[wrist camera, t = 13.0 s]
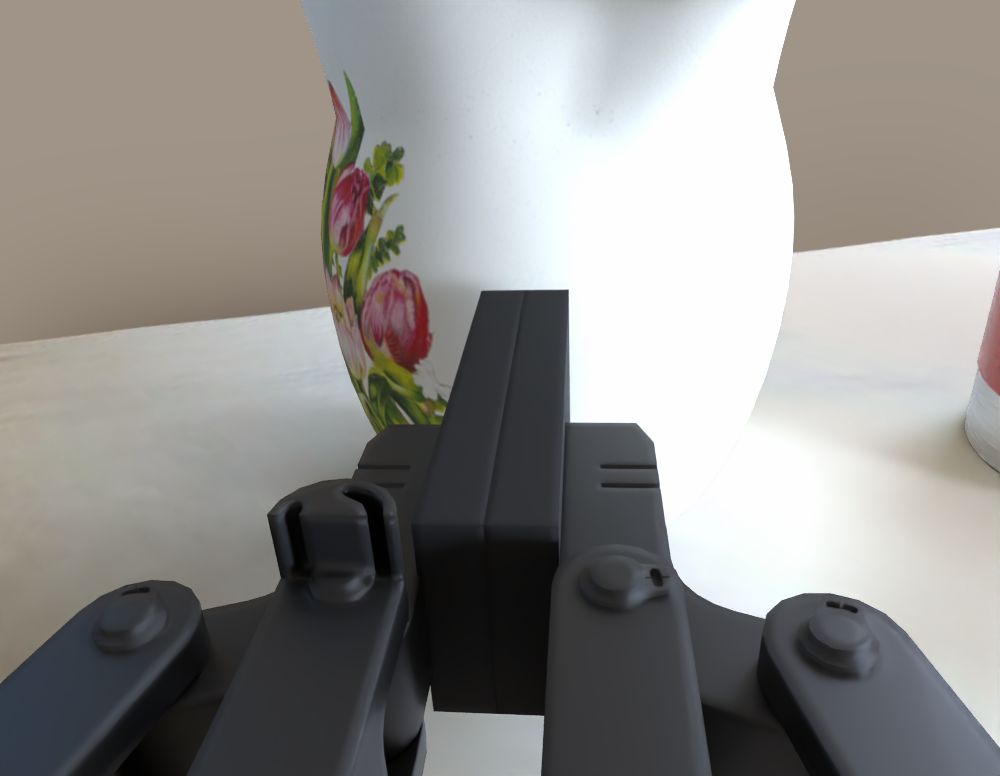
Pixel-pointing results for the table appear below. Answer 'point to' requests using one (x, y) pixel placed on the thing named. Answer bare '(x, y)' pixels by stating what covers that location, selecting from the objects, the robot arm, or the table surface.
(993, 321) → the tin can
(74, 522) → the table surface
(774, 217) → the pitcher
